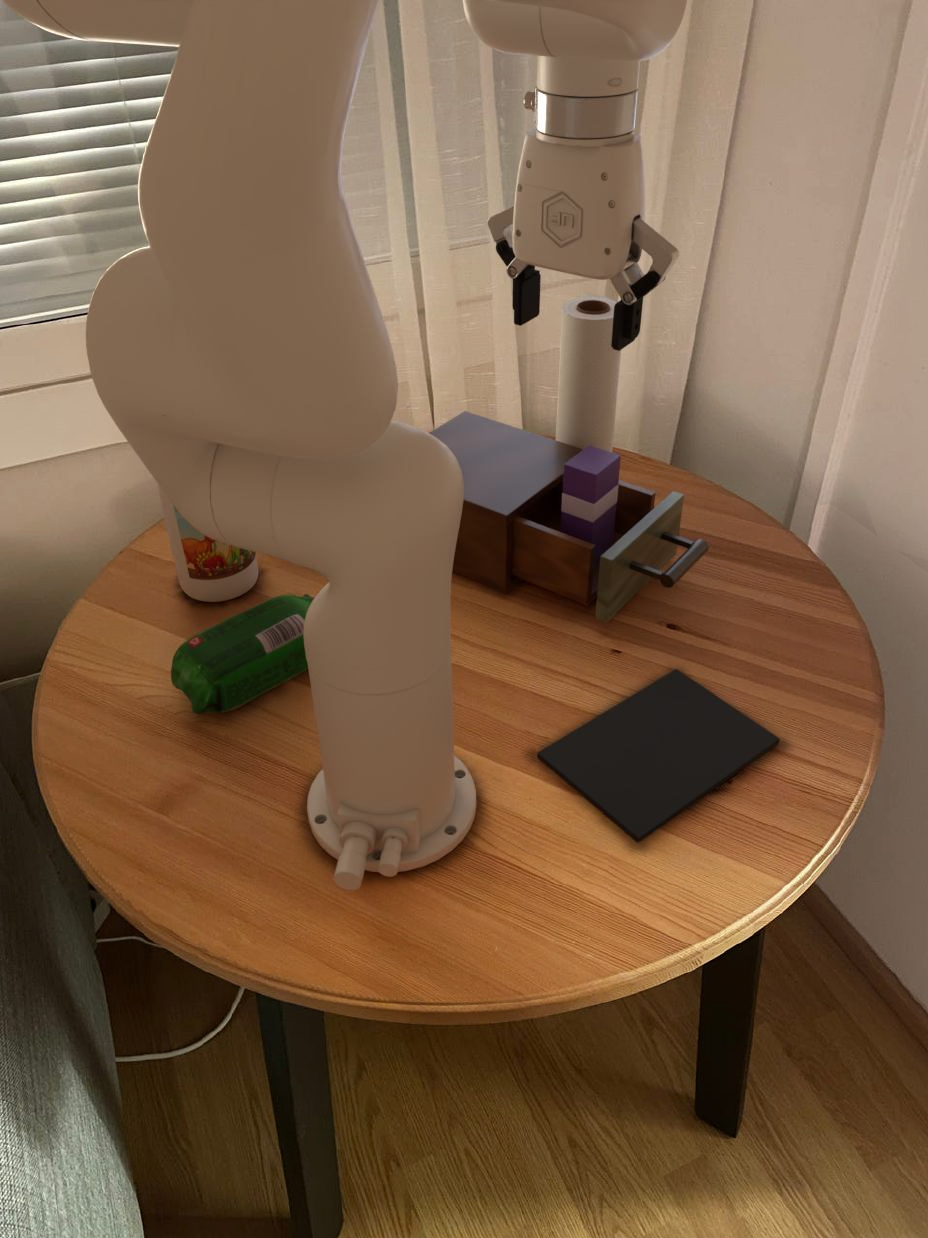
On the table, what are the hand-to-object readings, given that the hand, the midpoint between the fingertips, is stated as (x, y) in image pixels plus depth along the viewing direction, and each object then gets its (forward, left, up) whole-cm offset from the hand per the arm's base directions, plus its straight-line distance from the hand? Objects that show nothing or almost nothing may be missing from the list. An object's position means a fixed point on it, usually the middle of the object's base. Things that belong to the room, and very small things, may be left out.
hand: (573, 332), depth 87 cm
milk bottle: (-7, +33, -24) cm, 42 cm away
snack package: (-20, +25, -24) cm, 40 cm away
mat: (-26, -9, -24) cm, 36 cm away
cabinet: (+4, +8, -24) cm, 25 cm away
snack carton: (-2, -2, -22) cm, 22 cm away
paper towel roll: (+13, -2, -24) cm, 27 cm away
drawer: (-3, -4, -23) cm, 23 cm away
